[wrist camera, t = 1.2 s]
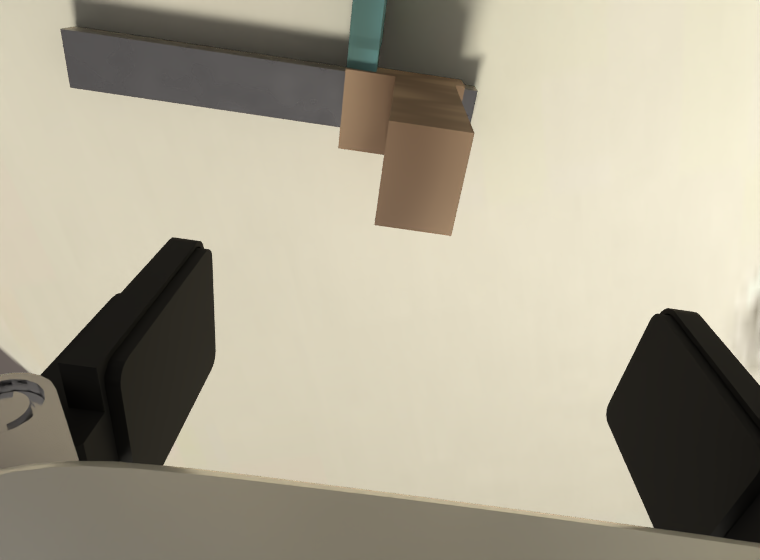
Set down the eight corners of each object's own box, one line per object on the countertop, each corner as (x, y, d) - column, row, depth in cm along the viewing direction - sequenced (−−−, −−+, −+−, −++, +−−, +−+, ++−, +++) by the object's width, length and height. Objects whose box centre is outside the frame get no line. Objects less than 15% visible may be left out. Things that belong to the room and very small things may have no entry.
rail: (474, 86, 29) (477, 91, 28) (463, 138, 31) (465, 145, 29) (76, 26, 29) (60, 28, 27) (84, 82, 30) (70, 87, 29)
